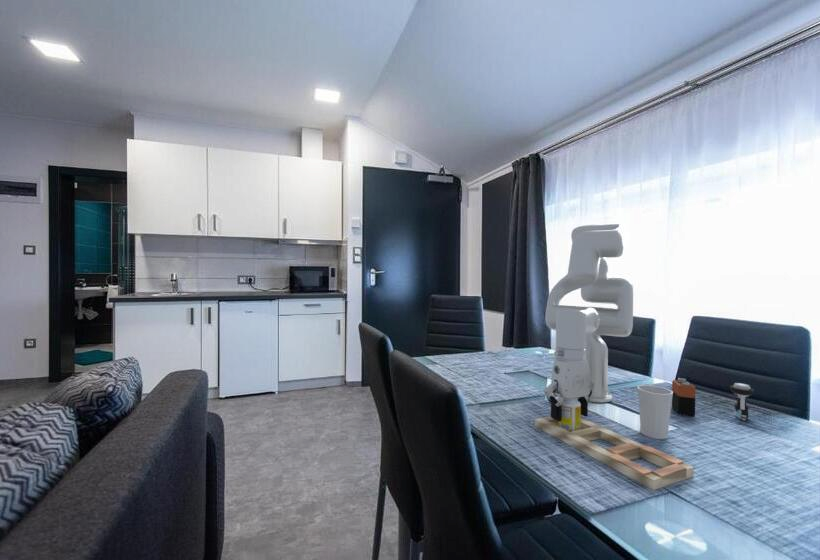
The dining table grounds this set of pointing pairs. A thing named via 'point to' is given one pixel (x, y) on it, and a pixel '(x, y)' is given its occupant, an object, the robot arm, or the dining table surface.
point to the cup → (654, 410)
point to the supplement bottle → (570, 415)
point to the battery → (683, 397)
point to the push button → (741, 399)
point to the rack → (621, 453)
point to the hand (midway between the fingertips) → (569, 416)
